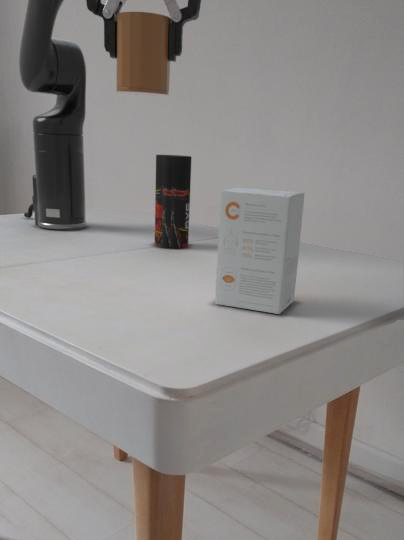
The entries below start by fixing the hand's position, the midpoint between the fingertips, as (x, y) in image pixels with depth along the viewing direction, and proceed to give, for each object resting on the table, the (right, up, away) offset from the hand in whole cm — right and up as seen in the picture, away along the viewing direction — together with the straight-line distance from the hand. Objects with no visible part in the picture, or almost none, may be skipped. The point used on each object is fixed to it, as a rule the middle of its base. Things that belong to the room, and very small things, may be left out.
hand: (143, 58), depth 66 cm
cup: (0, -3, +1) cm, 4 cm away
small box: (+13, -29, +1) cm, 32 cm away
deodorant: (+2, -15, +34) cm, 37 cm away
